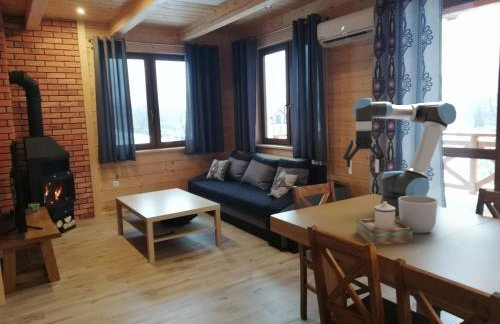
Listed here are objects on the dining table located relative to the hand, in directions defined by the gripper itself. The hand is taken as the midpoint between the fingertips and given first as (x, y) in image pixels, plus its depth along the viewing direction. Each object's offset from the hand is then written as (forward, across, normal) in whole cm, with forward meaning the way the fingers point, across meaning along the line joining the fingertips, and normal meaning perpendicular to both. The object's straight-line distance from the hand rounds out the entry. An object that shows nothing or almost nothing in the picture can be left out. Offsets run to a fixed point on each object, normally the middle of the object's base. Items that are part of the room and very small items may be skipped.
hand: (363, 173), depth 187 cm
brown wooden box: (+27, -2, +19) cm, 33 cm away
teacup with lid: (+22, -2, +19) cm, 29 cm away
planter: (+27, -21, +13) cm, 37 cm away
